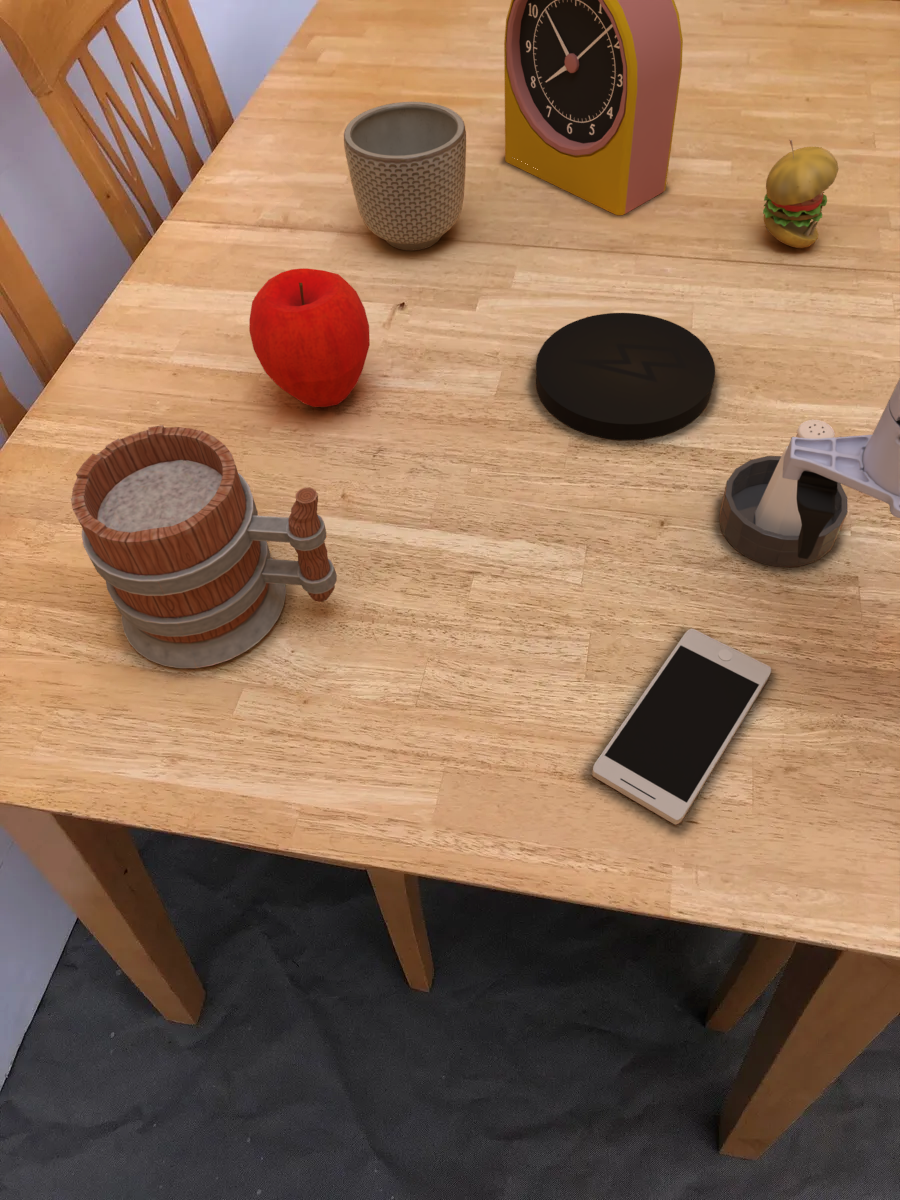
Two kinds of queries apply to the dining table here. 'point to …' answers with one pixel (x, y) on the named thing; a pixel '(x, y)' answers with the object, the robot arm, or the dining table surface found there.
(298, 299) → the apple
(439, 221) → the planter
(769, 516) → the salt shaker
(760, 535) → the bowl
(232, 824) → the dining table surface
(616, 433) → the wireless charger
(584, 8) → the alarm clock
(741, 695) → the smartphone
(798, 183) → the hamburger
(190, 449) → the mug
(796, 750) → the dining table surface
